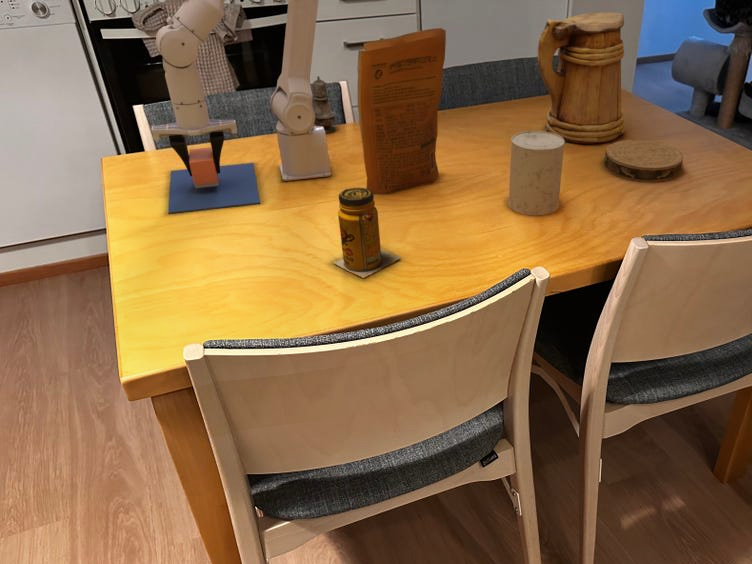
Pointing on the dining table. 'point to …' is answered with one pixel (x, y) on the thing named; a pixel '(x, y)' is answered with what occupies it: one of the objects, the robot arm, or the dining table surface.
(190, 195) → the cloth
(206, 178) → the orange rectangular block
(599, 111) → the tankard
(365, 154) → the pancake mix bag
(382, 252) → the condiment
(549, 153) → the grey stone cylinder
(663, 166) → the brown round disc
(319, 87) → the grey pagoda figurine
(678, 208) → the dining table surface
